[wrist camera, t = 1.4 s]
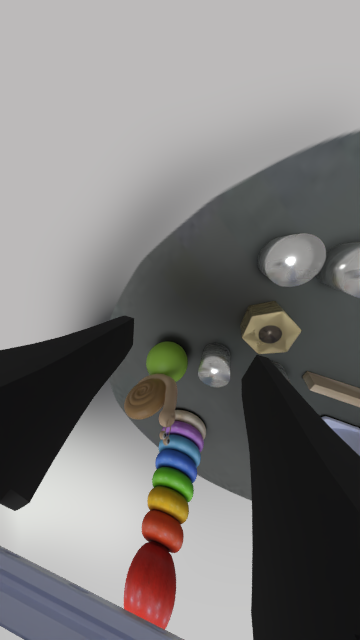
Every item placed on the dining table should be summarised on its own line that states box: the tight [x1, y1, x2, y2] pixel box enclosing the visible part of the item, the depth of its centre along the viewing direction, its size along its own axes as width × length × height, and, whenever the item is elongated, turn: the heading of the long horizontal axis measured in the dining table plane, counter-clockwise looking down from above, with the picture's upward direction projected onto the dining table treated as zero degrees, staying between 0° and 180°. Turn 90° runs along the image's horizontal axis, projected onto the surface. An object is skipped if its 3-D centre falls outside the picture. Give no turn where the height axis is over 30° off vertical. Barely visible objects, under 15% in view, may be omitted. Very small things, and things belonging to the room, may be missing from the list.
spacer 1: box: [198, 343, 230, 387], centre depth 19 cm, size 4×4×4 cm
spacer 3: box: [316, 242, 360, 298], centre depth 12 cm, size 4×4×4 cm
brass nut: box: [240, 301, 301, 354], centre depth 16 cm, size 5×4×3 cm
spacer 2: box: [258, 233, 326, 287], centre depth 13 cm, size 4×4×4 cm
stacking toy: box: [124, 410, 206, 630], centre depth 21 cm, size 8×8×19 cm
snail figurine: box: [124, 341, 188, 445], centre depth 17 cm, size 5×6×12 cm
